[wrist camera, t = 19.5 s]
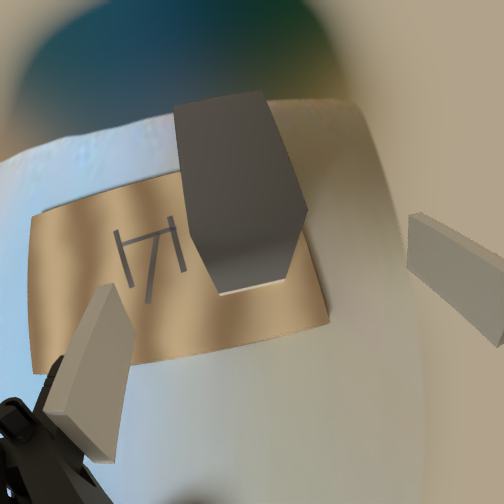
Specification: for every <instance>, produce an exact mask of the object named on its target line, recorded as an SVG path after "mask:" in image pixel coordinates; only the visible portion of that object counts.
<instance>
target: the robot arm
mask: <svg viewBox="0 0 504 504" xmlns="http://www.w3.org/2000/svg"><path fill="white" fill-rule="evenodd" d="M407 269H408V270H410V271H411V272H412V273H413V274H414V275H416V276H417V277H418V278H419V279H421V280H422V281H423V282H424V283H425V284H426V285H428V286H429V287H430V288H431V289H432V290H433V291H435V292H436V293H437V294H438V295H439V296H440V297H442V298H443V299H444V300H445V301H446V302H447V303H448V304H450V305H451V306H452V307H453V308H454V309H455V310H456V311H458V312H459V313H460V314H461V315H462V316H463V317H464V318H465V319H466V320H467V321H468V322H470V323H471V324H472V325H473V326H474V327H475V328H476V329H477V330H478V331H479V332H480V333H481V334H482V335H483V336H485V337H486V338H487V339H488V340H489V341H490V342H491V343H492V344H493V345H494V346H495V347H496V348H497V347H499V346H500V345H502V344H503V343H504V259H503V258H501V257H500V256H498V255H497V254H495V253H493V252H491V251H490V250H488V249H486V248H484V247H483V246H481V245H480V244H478V243H476V242H474V241H473V240H471V239H469V238H468V237H466V236H464V235H462V234H460V233H459V232H457V231H455V230H453V229H451V228H450V227H448V226H446V225H444V224H442V223H440V222H438V221H437V220H435V219H433V218H431V217H429V216H427V215H425V214H423V213H416V214H412V215H409V229H408V252H407ZM136 335H137V334H136V332H135V330H134V328H133V326H132V324H131V321H130V319H129V317H128V315H127V313H126V310H125V308H124V306H123V303H122V301H121V299H120V296H119V294H118V292H117V289H116V287H115V284H114V282H113V283H109V284H105V285H100V286H98V287H97V289H96V291H95V293H94V295H93V297H92V299H91V300H90V302H89V304H88V306H87V308H86V310H85V312H84V314H83V316H82V319H81V321H80V323H79V325H78V327H77V329H76V331H75V333H74V335H73V338H72V340H71V342H70V344H69V346H68V349H67V351H66V353H65V355H60V356H59V358H58V359H57V360H56V361H55V362H54V363H53V365H52V366H51V368H50V371H49V373H48V375H47V378H46V380H45V382H44V387H42V390H41V392H40V394H39V397H38V400H37V402H36V405H35V407H34V410H33V413H32V412H31V411H30V409H29V408H28V407H27V406H26V405H25V404H24V402H23V401H22V400H21V399H19V398H17V397H12V398H8V399H6V400H4V401H3V402H2V403H1V404H0V433H1V434H2V435H3V436H4V438H0V504H113V502H112V501H111V500H110V498H109V497H108V496H107V494H106V493H105V492H104V490H103V489H102V488H101V486H100V485H99V483H98V482H97V481H96V479H95V478H94V476H93V475H92V473H91V472H90V470H89V469H88V468H87V467H86V466H85V465H84V464H83V459H84V454H85V455H86V456H87V457H88V458H89V459H90V460H91V461H92V462H94V463H108V464H115V456H116V448H117V441H118V433H119V426H120V420H121V413H122V407H123V401H124V395H125V390H126V384H127V379H128V374H129V369H130V364H131V359H132V354H133V349H134V344H135V340H136ZM7 488H8V489H9V490H11V497H9V496H8V494H7Z"/></svg>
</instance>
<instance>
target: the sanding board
mask: <svg viewBox="0 0 504 504" xmlns="http://www.w3.org/2000/svg"><path fill="white" fill-rule="evenodd" d="M113 282H114V284H115V287H116V289H117V292H118V294H119V296H120V299H121V301H122V303H123V306H124V308H125V310H126V313H127V315H128V317H129V319H130V321H131V324H132V326H133V328H134V330H135V332H136V334H137V335H136V340H135V344H134V349H133V354H132V359H131V364H130V366H131V365H138V364H145V363H152V362H158V361H164V360H170V359H176V358H182V357H188V356H193V355H198V354H204V353H209V352H214V351H219V350H224V349H228V348H233V347H238V346H242V345H247V344H251V343H255V342H260V341H264V340H268V339H272V338H276V337H280V336H284V335H288V334H292V333H296V332H300V331H304V330H307V329H311V328H315V327H318V326H322V325H325V324H328V323H329V322H330V320H329V317H328V313H327V310H326V306H325V303H324V299H323V296H322V292H321V289H320V285H319V282H318V279H317V275H316V272H315V269H314V265H313V262H312V259H311V256H310V253H309V249H308V246H307V243H306V240H305V237H304V234H303V230H302V229H301V233H300V236H299V239H298V242H297V245H296V248H295V251H294V254H293V257H292V260H291V263H290V266H289V269H288V272H287V275H286V278H285V281H284V282H280V283H276V284H271V285H267V286H263V287H258V288H254V289H249V290H245V291H241V292H236V293H232V294H227V295H222V296H220V295H219V293H218V291H217V289H216V287H215V285H214V283H213V281H212V279H211V277H210V275H209V273H208V271H207V269H206V267H205V265H204V263H203V261H202V259H201V257H200V255H199V253H198V251H197V249H196V247H195V245H194V243H193V241H192V238H191V236H190V233H189V227H188V221H187V214H186V207H185V201H184V194H183V187H182V179H181V172H176V173H172V174H168V175H164V176H160V177H156V178H152V179H149V180H145V181H141V182H138V183H134V184H130V185H127V186H123V187H120V188H116V189H113V190H110V191H106V192H103V193H100V194H97V195H93V196H90V197H87V198H84V199H81V200H78V201H75V202H72V203H69V204H66V205H63V206H60V207H57V208H54V209H52V210H49V211H46V212H43V213H41V214H38V215H35V216H33V217H32V219H31V229H30V240H29V255H28V324H29V339H30V350H31V359H32V367H33V374H40V375H42V374H48V373H49V371H50V368H51V366H52V365H53V363H54V362H55V361H56V360H57V359H58V358H59V356H60V355H65V353H66V351H67V349H68V346H69V344H70V342H71V340H72V338H73V335H74V333H75V331H76V329H77V327H78V325H79V323H80V321H81V319H82V316H83V314H84V312H85V310H86V308H87V306H88V304H89V302H90V300H91V299H92V297H93V295H94V293H95V291H96V289H97V287H98V286H100V285H105V284H109V283H113Z"/></svg>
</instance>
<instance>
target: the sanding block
mask: <svg viewBox="0 0 504 504" xmlns="http://www.w3.org/2000/svg"><path fill="white" fill-rule="evenodd" d="M173 112H174V122H175V131H176V140H177V148H178V156H179V164H180V172H181V179H182V187H183V194H184V201H185V207H186V214H187V221H188V227H189V233H190V236H191V238H192V241H193V243H194V245H195V247H196V249H197V251H198V253H199V255H200V257H201V259H202V261H203V263H204V265H205V267H206V269H207V271H208V273H209V275H210V277H211V279H212V281H213V283H214V285H215V287H216V289H217V291H218V293H219V295H220V296H222V295H227V294H232V293H236V292H241V291H245V290H249V289H254V288H258V287H263V286H267V285H271V284H276V283H280V282H284V281H285V278H286V275H287V272H288V269H289V266H290V263H291V260H292V257H293V254H294V251H295V248H296V245H297V242H298V239H299V236H300V233H301V229H302V226H303V223H304V220H305V217H306V214H307V211H308V209H307V206H306V203H305V200H304V198H303V195H302V192H301V189H300V186H299V184H298V181H297V178H296V175H295V173H294V170H293V167H292V165H291V162H290V159H289V157H288V154H287V152H286V149H285V146H284V144H283V141H282V139H281V136H280V134H279V131H278V129H277V126H276V124H275V121H274V119H273V116H272V114H271V111H270V109H269V106H268V104H267V102H266V99H265V97H264V95H263V92H262V90H258V91H250V92H243V93H237V94H231V95H226V96H220V97H214V98H209V99H205V100H199V101H195V102H190V103H186V104H182V105H177V106H174V107H173Z"/></svg>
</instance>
